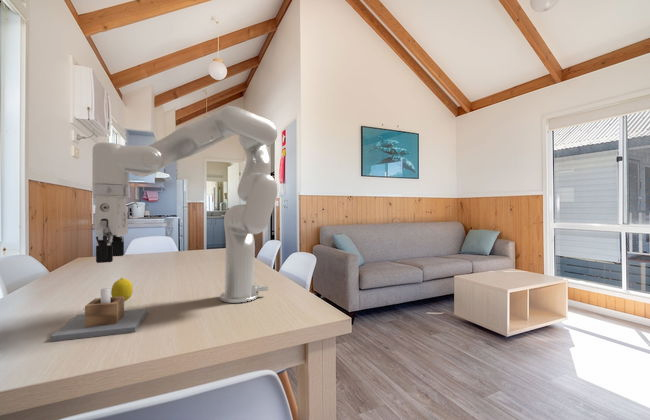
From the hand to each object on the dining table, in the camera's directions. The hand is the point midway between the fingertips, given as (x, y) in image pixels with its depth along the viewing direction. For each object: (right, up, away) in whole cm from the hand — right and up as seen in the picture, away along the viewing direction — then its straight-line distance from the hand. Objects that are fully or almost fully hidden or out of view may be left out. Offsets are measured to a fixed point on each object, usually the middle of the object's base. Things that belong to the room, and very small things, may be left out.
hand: (110, 259), depth 75 cm
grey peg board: (-1, -17, -1) cm, 17 cm away
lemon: (-9, -17, +16) cm, 25 cm away
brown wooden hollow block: (-1, -16, -1) cm, 15 cm away
